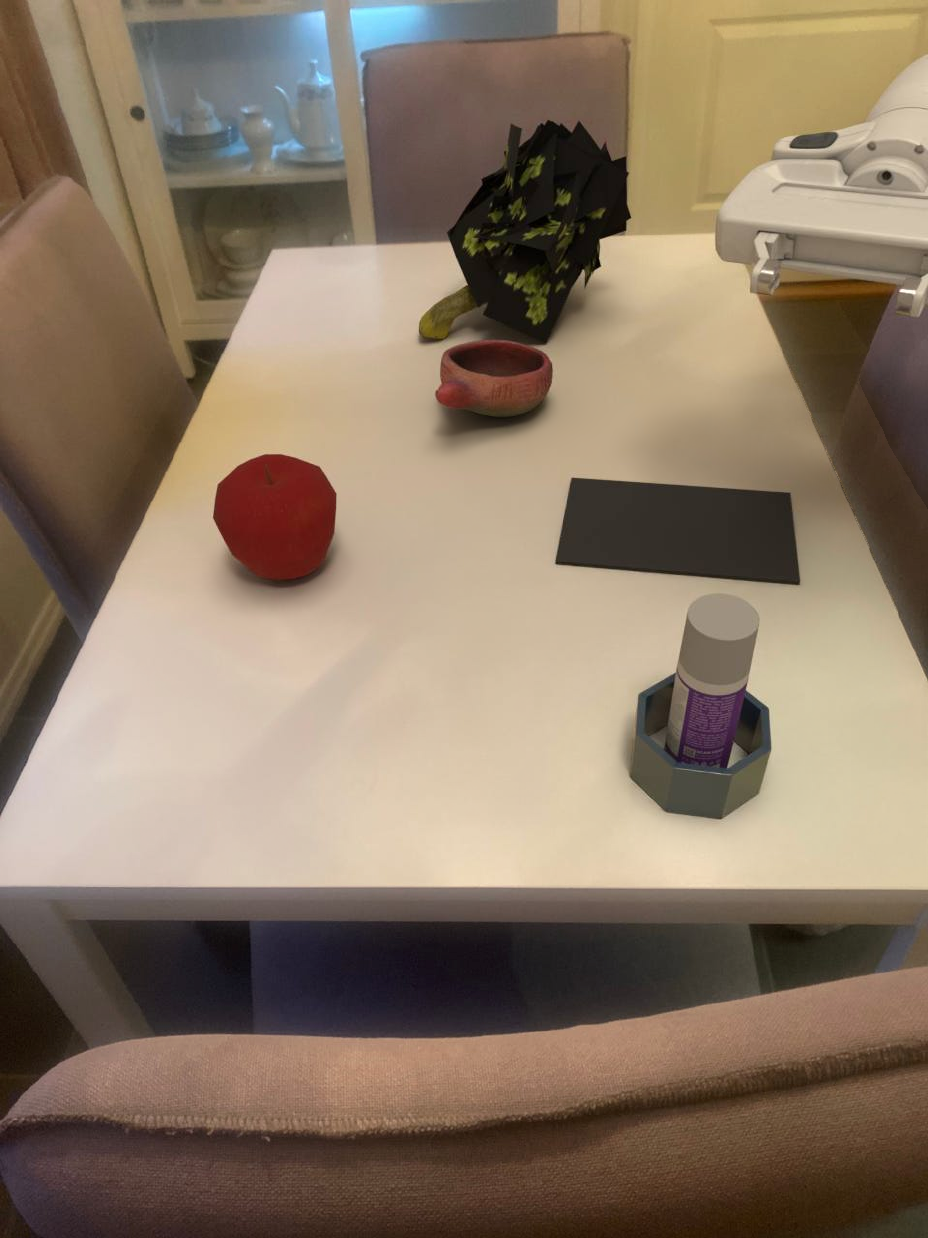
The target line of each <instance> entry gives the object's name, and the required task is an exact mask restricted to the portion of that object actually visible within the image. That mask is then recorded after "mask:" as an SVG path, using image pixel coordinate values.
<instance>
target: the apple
mask: <svg viewBox="0 0 928 1238" xmlns="http://www.w3.org/2000/svg"><path fill="white" fill-rule="evenodd" d="M336 516H337V491H335V488H334V487H333V485H332V483H331V482H330V480H329V478H328V477H327V475H326V474H325V472H324V471H323V470H322V468H321V466H319V465H316V464H314V463H311V462H309V461H307V460H303V459H300V458H297V457H295V456H290V455H286V454H282V453H265V454H262V455H259V456H255V457H253V458H250V459H248V460H246V461H244V462H242V463H241V464H239V465H237V466H236V467H235V468H233V470H231V471H230V472H229V474H227V475H226V476H225V477H224V478H223V479H222V480H220V482H219V483H217V487H216V492H215V497H214V505H213V514H212V519H213V522H214V523H215V526H216V528H217V530H218V531H219V534H220V535H221V538H222V539H223V541H224V543H225V545H226V546H227V549H228V550H229V552H230V554H231V556H233V558H234V559H236V560H237V561H238V562H240V563H241V565H243V566H244V567H245V568H247V570H248V571H250V572H251V573H253V574H255V575H257V576H259V577H261V578H265V579H269V580H270V579H271V580H274V581H281V580H283V581H284V580H293V579H297V578H301V577H305V576H308V575H309V574H310V573H312V572H313V571H315V570H317V569H318V568H320V566H321V565H322V563H323V562H324V561H325V559H326V557H327V554H328V551H329V548H330V546H331V543H332V540H333V538H334V535H335V529H336Z"/></svg>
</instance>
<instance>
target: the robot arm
mask: <svg viewBox="0 0 928 1238" xmlns="http://www.w3.org/2000/svg"><path fill="white" fill-rule="evenodd" d="M771 154H772V155H771V158H770V161H767V162H764V163H762V164H760V165H758V166H756V167H755V168H753V169H752V170H751V171H749V172H748V174H746V175H745V176H744V177H743V179H741V180H740V182H739V183H738V184H737V185H736V186H735V187H734V188H733V189H732V191H731V192H730V193H729V194H728V196H727V197H726V199H725V200H724V201H723V202H722V204H721V205H720V207H719V209H718V212H717V214H716V219H715V220H716V221H715V229H714V230H715V231H714V232H715V233H714V245H715V252H716V253H717V256H718V257H719V259H720V260H721V261H722V262H725V263H731V264H732V263H733V264H741V265H748V266H751V269H752V270H751V274H750V282H749V283H750V285H749V293H750V294H756V295H762V296H763V295H764V296H773V295H774V292H775V290H777V288H778V287H779V285H780V279H781V276H780V272H781V270H786V271H793V272H800V273H808V274H814V275H815V274H816V275H822V276H830V277H837V278H845V279H852V280H859V281H867V282H875V283H882V284H889V285H896V286H901V287H900V288H899V291H898V295H897V297H896V304H895V305H896V306H895V307H894V312H893V315H894V314H895V315H899V316H906V317H911V318H919V317H920V316H921V313H922V311H923V309H924V307H925V306H928V53H927V54H924V55H922V56H921V57H919V58H918V59H916V60H914V61H913V62H911V63H910V64H909V65H907V66H906V67H905V68H904V69H903V70H902V71H900V73H899V74H898V75H897V76H896V77H894V79H893V81H892V82H891V83H890V84H889V85H888V87H887V88H886V89H885V90H884V91H883V93H882V94H881V95H880V97H879V98H878V100H877V101H876V102H875V104H874V105H873V107H872V108H871V110H870V111H869V113H868V115H867V117H866V119H865V121H864V122H862V123H859V124H855V125H852V126H848V127H844V128H841V129H836V130H832V131H831V130H829V131H825V132H824V131H823V132H818V133H808V134H799V135H789V136H785V137H782V138H780V139H779V140H777V142H776V143H775V145H774V146H773V148H772V153H771Z"/></svg>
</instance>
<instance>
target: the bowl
mask: <svg viewBox="0 0 928 1238" xmlns="http://www.w3.org/2000/svg"><path fill="white" fill-rule="evenodd" d="M439 367H440V368H439V376H440V377H439V378H440V382H441V384H440V385H439V386H438V388H437V389H436V390H435V393H434V395H435V399H436V401H437V403H439V404H440V405H442V406H443V407H446V408H450V409H454V410H465V411H470V412H472V413H475V414H479V415H483V416H488V417H500V418H501V417H502V418H506V417H515V416H519V415H522V414H525V413H528V412H530V411H532V410H533V409H535V408H536V407H537V406H538V405H539V404H541V403H542V402H543V400H544V399H545V398H546V397H547V395H548V394H549V392H550V388H551V386H552V383H553V377H554V376H553V372H554V368H553V362H552V361H551V360H550V357H549V356H548V354H547V353H546V352H544V351H542V350H540V349H538V348H535V347H533V346H530V345H527V344H524V343H520V342H516V341H512V340H507V339H506V340H505V339H481V340H474V341H468V342H464V343H460V344H457V345H454V346H452V347H450V348H448V349H446V350H445V351H444V352H443V353H442V356H441V358H440V366H439Z"/></svg>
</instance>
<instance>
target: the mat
mask: <svg viewBox="0 0 928 1238" xmlns="http://www.w3.org/2000/svg"><path fill="white" fill-rule="evenodd" d="M568 489H569V490H568V494H567V500H566V504H565V509H564V514H563V515H564V516H563V521H562V526H561V531H560V536H559V540H558V546H557V551H556V557H555V565H561V566H562V565H563V566H573V567H575V566H576V567H587V568H598V569H608V570H609V569H611V570H622V571H634V572H644V573H654V574H655V573H657V574H668V575H678V576H679V575H680V576H689V577H690V576H691V577H703V578H714V579H726V580H739V581H750V582H762V583H773V584H783V585H784V584H785V585H796V586H797V585H798V586H800V584H801V577H800V576H801V575H800V567H799V559H798V551H797V550H798V549H797V541H796V540H797V539H796V531H795V523H794V522H795V521H794V514H793V504H792V503H793V502H792V496H791V495H792V494H791V492H788V491H774V490H773V491H770V490H759V489H742V488H731V487H729V488H728V487H717V486H716V487H715V486H699V485H687V484H686V485H685V484H670V483H659V482H658V483H656V482H643V481H628V480H615V479H614V480H613V479H601V478H600V479H599V478H585V477H571V478H570V484H569V488H568Z"/></svg>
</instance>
